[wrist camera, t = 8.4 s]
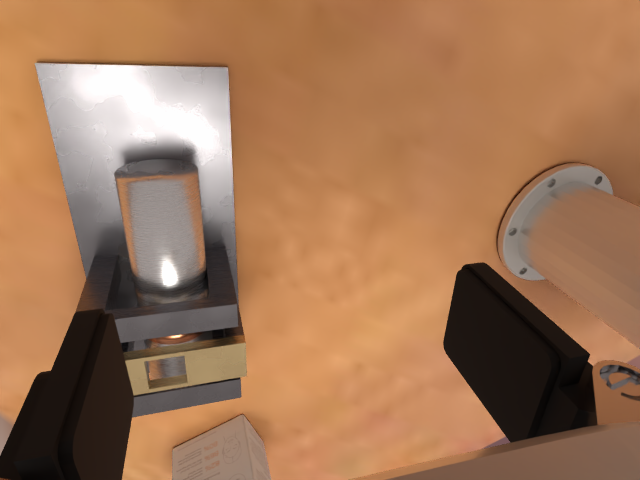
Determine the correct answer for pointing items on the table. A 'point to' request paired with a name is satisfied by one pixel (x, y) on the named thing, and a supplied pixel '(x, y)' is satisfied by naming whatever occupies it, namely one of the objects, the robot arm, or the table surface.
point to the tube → (164, 243)
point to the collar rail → (106, 221)
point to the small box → (222, 454)
